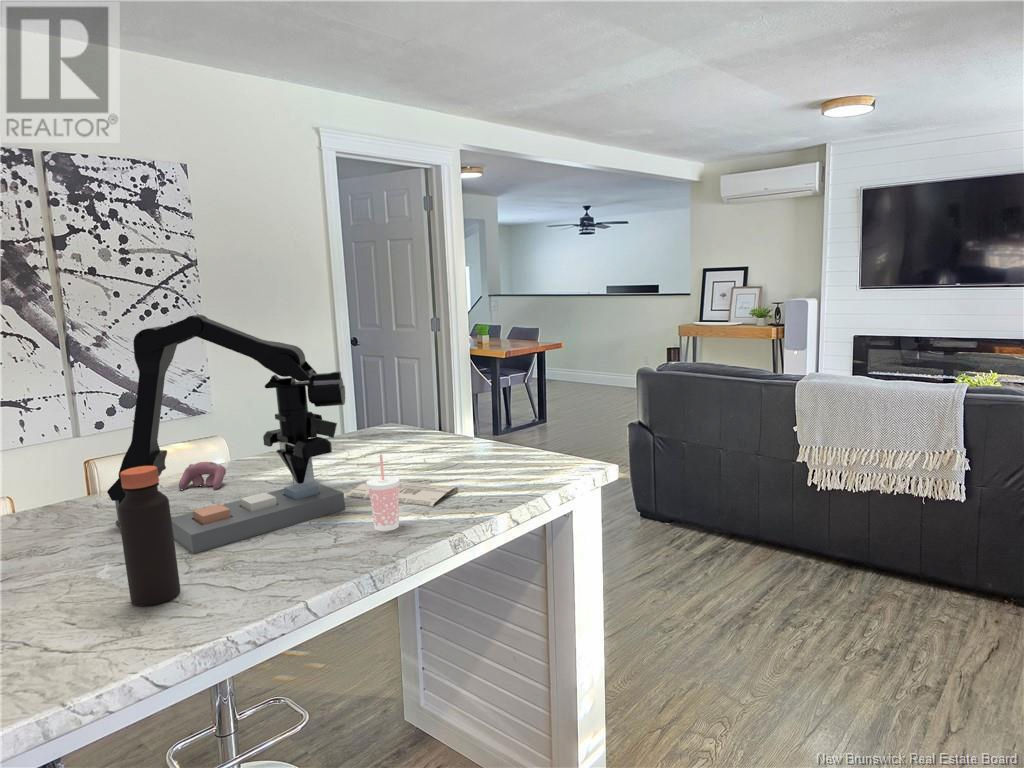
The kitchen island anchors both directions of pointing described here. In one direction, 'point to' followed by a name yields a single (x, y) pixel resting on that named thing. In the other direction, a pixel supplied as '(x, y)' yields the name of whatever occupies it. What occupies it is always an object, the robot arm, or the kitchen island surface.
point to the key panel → (255, 519)
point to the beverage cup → (384, 501)
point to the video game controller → (203, 468)
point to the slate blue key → (301, 490)
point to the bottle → (147, 538)
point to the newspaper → (410, 493)
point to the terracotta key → (211, 514)
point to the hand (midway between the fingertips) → (300, 483)
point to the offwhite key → (258, 502)
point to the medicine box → (307, 473)
